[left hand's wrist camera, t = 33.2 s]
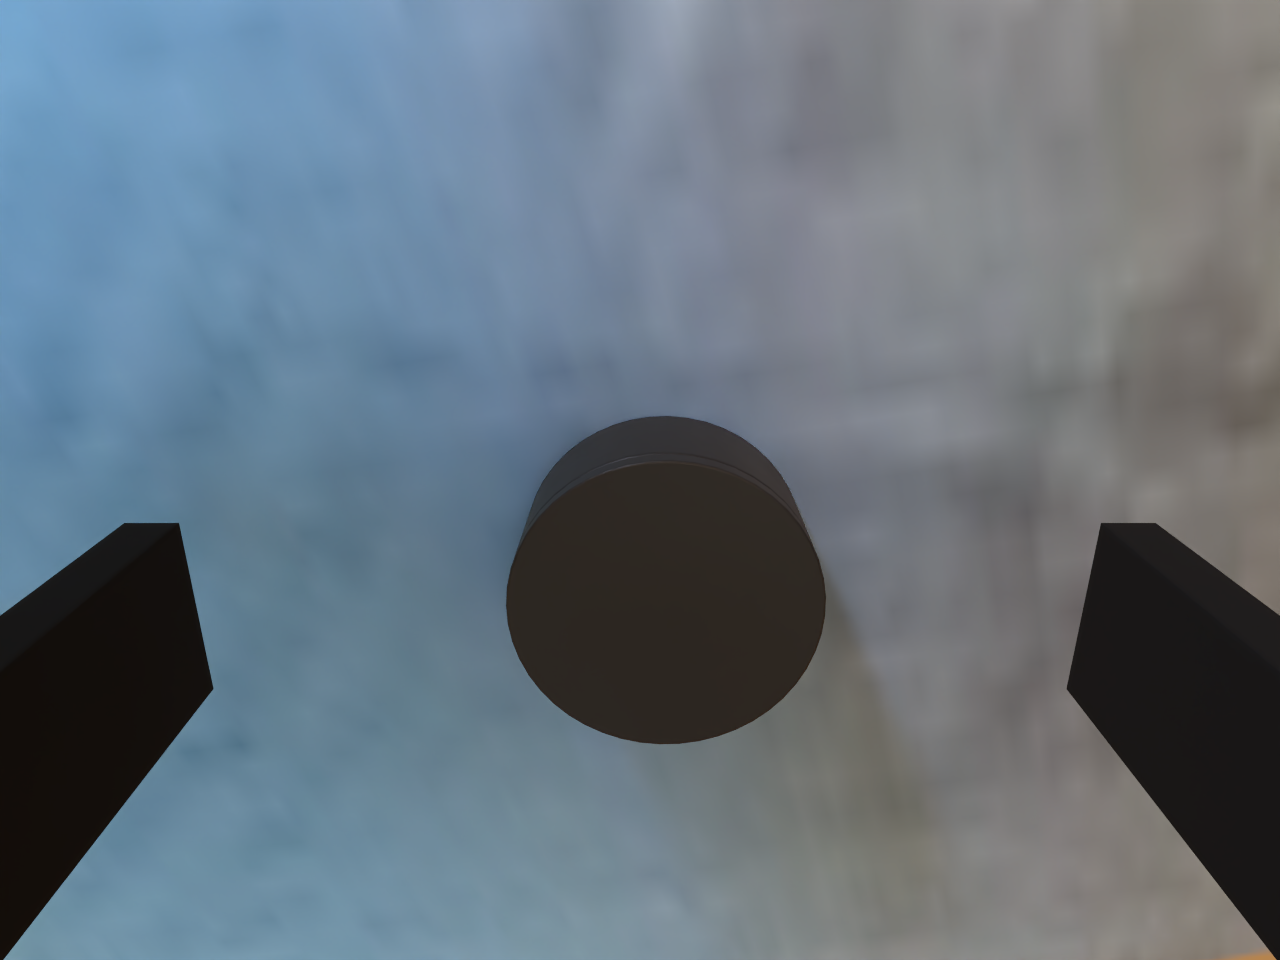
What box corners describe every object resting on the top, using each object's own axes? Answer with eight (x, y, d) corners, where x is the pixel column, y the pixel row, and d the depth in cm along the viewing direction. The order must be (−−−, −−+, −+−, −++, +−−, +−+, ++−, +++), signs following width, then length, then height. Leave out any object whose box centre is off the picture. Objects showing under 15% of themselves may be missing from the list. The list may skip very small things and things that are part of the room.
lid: (842, 460, 16) (875, 513, 13) (748, 694, 17) (763, 775, 15) (566, 380, 15) (551, 419, 13) (498, 627, 17) (473, 701, 15)
